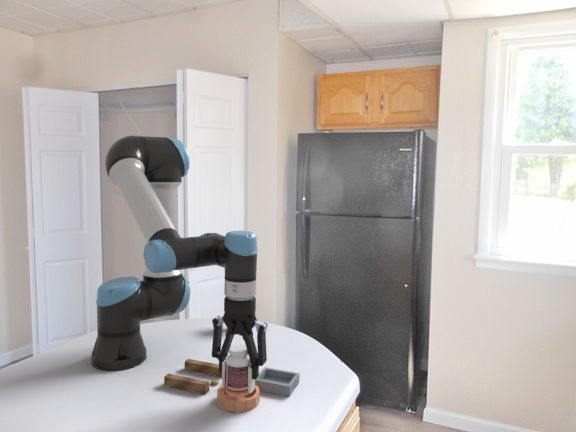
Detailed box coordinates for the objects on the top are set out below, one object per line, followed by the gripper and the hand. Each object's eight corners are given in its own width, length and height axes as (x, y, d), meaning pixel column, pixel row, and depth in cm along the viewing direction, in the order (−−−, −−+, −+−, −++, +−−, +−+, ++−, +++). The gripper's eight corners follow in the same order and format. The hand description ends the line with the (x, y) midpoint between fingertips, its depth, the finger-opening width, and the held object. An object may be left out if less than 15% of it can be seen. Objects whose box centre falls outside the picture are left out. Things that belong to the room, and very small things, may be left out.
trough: (253, 389, 121) (253, 379, 121) (264, 376, 129) (264, 367, 128) (289, 396, 118) (290, 386, 118) (299, 382, 125) (299, 373, 125)
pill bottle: (255, 394, 114) (256, 350, 112) (232, 400, 110) (233, 355, 109) (243, 383, 119) (244, 341, 118) (221, 389, 115) (221, 346, 114)
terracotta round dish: (209, 407, 112) (209, 396, 111) (228, 388, 121) (228, 378, 121) (249, 415, 108) (249, 404, 108) (265, 395, 118) (265, 385, 118)
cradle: (164, 385, 121) (164, 376, 121) (188, 367, 133) (188, 358, 132) (207, 394, 117) (207, 385, 117) (228, 374, 129) (228, 366, 129)
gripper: (196, 295, 111) (195, 387, 114) (272, 305, 105) (269, 403, 108) (211, 287, 118) (210, 375, 121) (283, 296, 112) (280, 388, 115)
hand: (238, 388), depth 114 cm, fingers closed on pill bottle, 6 cm apart
